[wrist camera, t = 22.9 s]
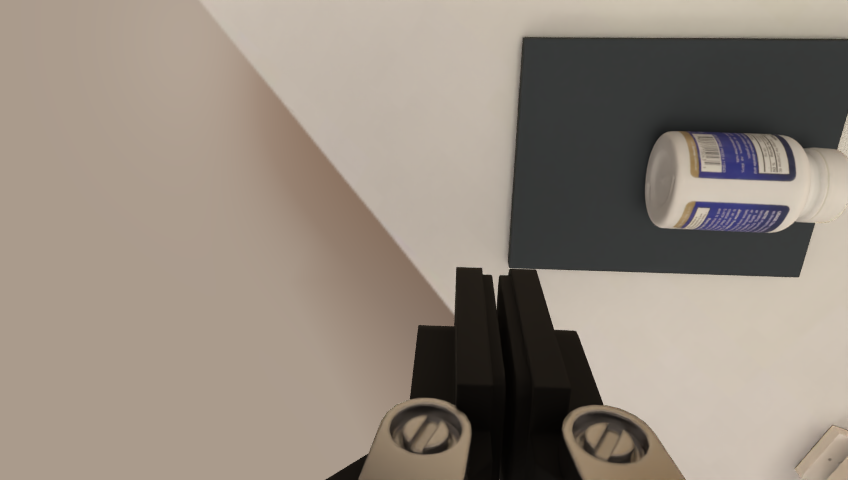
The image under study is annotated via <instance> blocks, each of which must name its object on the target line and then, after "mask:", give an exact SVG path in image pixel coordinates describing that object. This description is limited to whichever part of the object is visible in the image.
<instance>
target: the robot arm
mask: <svg viewBox="0 0 848 480" xmlns="http://www.w3.org/2000/svg"><path fill="white" fill-rule="evenodd" d="M326 480H686V479H685V478H684V476H683V475H682V473H681V472H680V470H679V469H678V467H677V466H676V464H675V463H674V461H673V460H672V458H671V457H670V455H669V454H668V452H667V451H666V449H665V448H664V446H663V445H662V443H661V442H660V440H659V439H658V437H657V436H656V434H655V433H654V432H653V431H652V429H651V428H650V427H649V426H648V425H647V424H646V423H645V422H644V421H642V420H641V419H639V418H638V417H636V416H635V415H633V414H631V413H629V412H626V411H624V410H622V409H619V408H615V407H611V406H607V405H603V402H602V399H601V397H600V394H599V391H598V388H597V386H596V383H595V380H594V377H593V375H592V372H591V369H590V367H589V364H588V361H587V358H586V356H585V353H584V350H583V347H582V345H581V342H580V339H579V336H578V334H577V332H576V331H568V330H554V328H553V325H552V321H551V318H550V315H549V311H548V308H547V305H546V301H545V298H544V294H543V291H542V288H541V284H540V281H539V278H538V274H537V271H536V270H531V269H509V274H508V275H500V276H499V283H498V297H497V310H496V303H495V295H494V287H493V280H492V275H483V273H482V268H466V267H457V268H456V294H455V323H454V326H426V325H419V326H418V333H417V342H416V351H415V360H414V368H413V378H412V386H411V395H410V400H407V401H405V402H403V403H400V404H397V405H395V406H394V407H393V408H392V409H390V410H389V411H388V412H387V413H386V415H385V416H384V418H383V419H382V421H381V423H380V426H379V428H378V431H377V433H376V436H375V438H374V441H373V443H372V446H371V448H370V451H369V453H368V454H367V455H365V456H364V457H362V458H360V459H359V460H357V461H356V462H354V463H352V464H350V465H349V466H347V467H346V468H344V469H342V470H341V471H339V472H337V473H336V474H334V475H333V476H331V477H329V478H328V479H326Z"/></svg>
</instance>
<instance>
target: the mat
mask: <svg viewBox="0 0 848 480" xmlns="http://www.w3.org/2000/svg"><path fill="white" fill-rule="evenodd" d="M847 114H848V39H748V38H556V37H524V38H523V44H522V59H521V74H520V89H519V104H518V119H517V134H516V149H515V164H514V179H513V194H512V210H511V225H510V240H509V255H508V264H509V268H526V269H557V270H588V271H619V272H649V273H680V274H711V275H742V276H773V277H799V275H800V272H801V269H802V265H803V262H804V259H805V255H806V252H807V249H808V245H809V242H810V238H811V235H812V232H813V228H814V225H815V223H806V222H796V221H795V222H794V223H792V224H791V225H790V226H789V227H787V228H785V229H783V230H781V231H778V232H772V233H758V232H736V231H714V230H692V229H670V228H660V227H658V226H656V225H655V224H654V223H653V222H652V221H651V219H650V217H649V215H648V212H647V207H646V201H645V181H646V172H647V166H648V161H649V157H650V154H651V151H652V149H653V147H654V145H655V143H656V141H657V140H658V138H659V137H660V136H661V135H663V134H664V133H666V132H670V131H691V132H721V133H752V134H775V135H784V136H788V137H790V138H792V139H794V140H795V141H797V142H798V143H799V144H800V145H801V146H802V148H803V149H804V148H814V147H815V148H827V149H836V150H837V148H838V144H839V141H840V138H841V134H842V131H843V127H844V124H845V121H846V117H847Z"/></svg>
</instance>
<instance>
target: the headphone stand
mask: <svg viewBox="0 0 848 480" xmlns="http://www.w3.org/2000/svg"><path fill="white" fill-rule="evenodd" d="M795 470H796V472H797V473H798V475H799V476H800V477H801V478H803V479H806V480H848V431H847V430H845V429H842V428H839V427H836V426H832V427H831V428H830V429H829V430H828V431H827V432H826V434H825V435H824V436H823V437H822V438H821V439H820V440H819V442H818V443H817V444H816V445H815V446H814V447H813V449H812V450H811V451H810V452H809V453H808V454H807V455H806V457H805V458H804V459H803V460H802V461H801V462H800V463H799V465H798V466H797V467H796V468H795Z"/></svg>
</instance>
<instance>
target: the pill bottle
mask: <svg viewBox="0 0 848 480" xmlns="http://www.w3.org/2000/svg"><path fill="white" fill-rule="evenodd" d="M645 201H646V207H647V212H648V215H649V217H650V219H651V221H652V222H653V223H654V224H655V225H656V226H658V227H660V228H670V229H692V230H714V231H736V232H758V233H772V232H778V231H781V230H783V229H785V228H787V227H789V226H790V225H791V224H792V223H794V222H795V221H796V222H806V223H827V222H831V221H833V220H834V219H836V218H837V217H839V216H840V215H841V213H842V212H843V211H844V210H845V208H846V206H847V204H848V158H847V157H846V156H845V155H844V154H843V153H842V152H841V151H839V150H836V149H827V148H815V147H814V148H804V149H803V148H802V146H801V145H800V144H799V143H798V142H797V141H795V140H794V139H792V138H790V137H788V136H784V135H775V134H752V133H721V132H691V131H670V132H666V133H664V134H663V135H661V136H660V137H659V138H658V140H657V141H656V143H655V145H654V147H653V149H652V151H651V154H650V157H649V161H648V166H647V172H646V181H645Z"/></svg>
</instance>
